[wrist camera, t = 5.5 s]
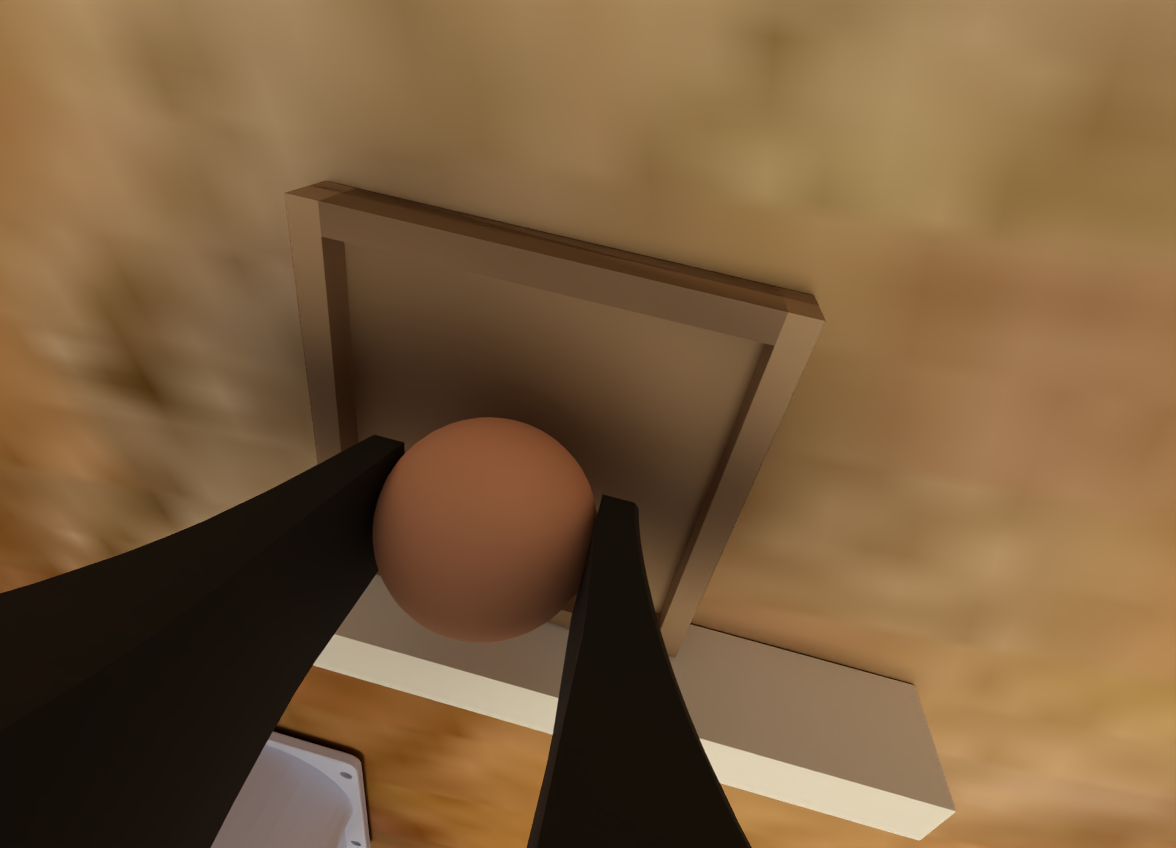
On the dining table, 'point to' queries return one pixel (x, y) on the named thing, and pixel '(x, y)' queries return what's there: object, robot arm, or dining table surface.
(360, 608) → the strip
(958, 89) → the dining table surface
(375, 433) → the tray
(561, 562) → the ball
